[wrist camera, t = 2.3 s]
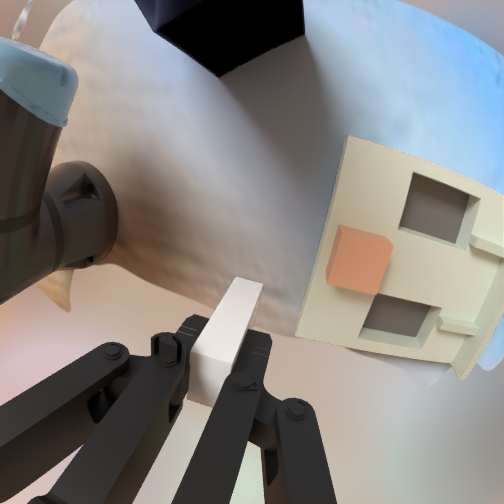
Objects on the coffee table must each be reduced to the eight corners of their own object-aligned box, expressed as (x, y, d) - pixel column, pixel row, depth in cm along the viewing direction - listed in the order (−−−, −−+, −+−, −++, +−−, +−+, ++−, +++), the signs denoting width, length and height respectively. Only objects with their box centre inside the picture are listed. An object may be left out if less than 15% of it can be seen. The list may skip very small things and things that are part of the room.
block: (325, 271, 29) (326, 283, 26) (338, 224, 27) (342, 232, 24) (370, 282, 28) (376, 295, 25) (385, 236, 26) (393, 245, 24)
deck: (296, 322, 35) (292, 355, 29) (344, 137, 27) (354, 132, 21) (448, 351, 32) (464, 380, 26) (509, 200, 24) (539, 211, 18)
